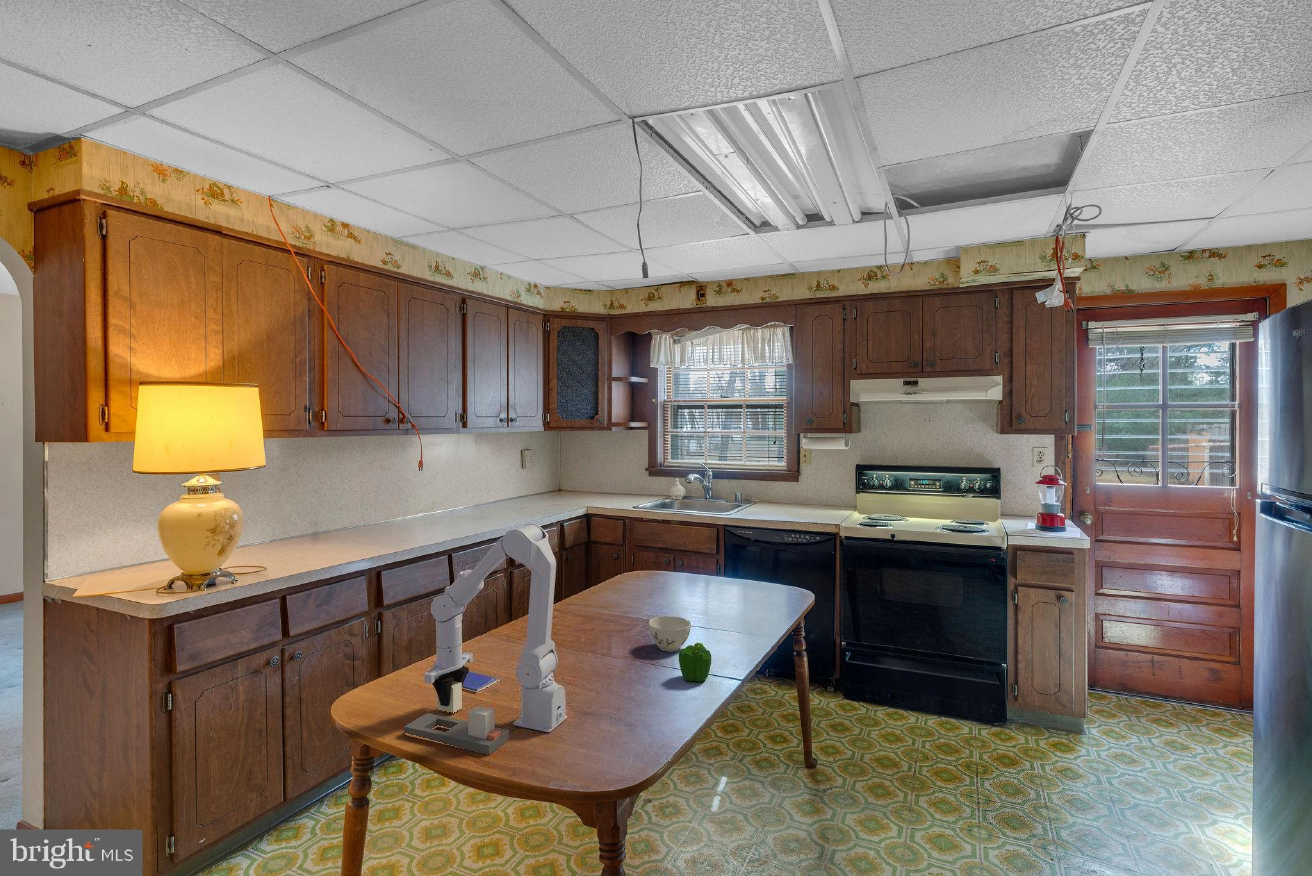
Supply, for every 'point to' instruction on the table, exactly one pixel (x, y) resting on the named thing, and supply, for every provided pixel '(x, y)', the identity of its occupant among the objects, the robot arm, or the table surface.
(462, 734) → the slotted gray plate
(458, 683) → the plug
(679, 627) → the teacup
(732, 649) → the table surface
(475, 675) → the blue book
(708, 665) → the bell pepper
